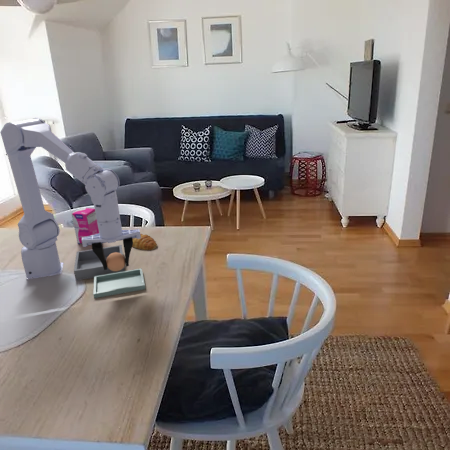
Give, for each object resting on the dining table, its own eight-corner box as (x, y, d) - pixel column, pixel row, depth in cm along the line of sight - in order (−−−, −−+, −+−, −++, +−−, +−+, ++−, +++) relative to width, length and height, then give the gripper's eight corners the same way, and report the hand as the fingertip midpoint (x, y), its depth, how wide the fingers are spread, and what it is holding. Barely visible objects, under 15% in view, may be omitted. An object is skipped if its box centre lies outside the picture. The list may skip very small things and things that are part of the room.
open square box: (76, 282, 115) (73, 271, 114) (78, 261, 127) (76, 251, 126) (125, 274, 118) (123, 263, 117) (123, 255, 130) (121, 244, 129)
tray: (94, 300, 105) (93, 294, 105) (95, 281, 114) (94, 276, 114) (145, 290, 108) (144, 285, 108) (142, 273, 117) (141, 268, 117)
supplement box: (77, 244, 140) (70, 213, 135) (87, 237, 145) (81, 207, 141) (91, 246, 138) (85, 214, 134) (101, 239, 143) (96, 208, 139)
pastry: (162, 247, 134) (161, 236, 133) (146, 255, 130) (144, 244, 128) (144, 240, 140) (143, 230, 139) (128, 247, 136) (126, 237, 134)
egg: (108, 276, 107) (105, 258, 105) (107, 268, 111) (104, 251, 109) (127, 272, 108) (124, 255, 106) (125, 264, 113) (123, 248, 111)
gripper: (77, 228, 99) (87, 278, 104) (138, 219, 102) (145, 268, 107) (79, 218, 105) (88, 266, 110) (136, 210, 109) (143, 257, 114)
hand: (116, 266), depth 109 cm, fingers closed on egg, 5 cm apart
